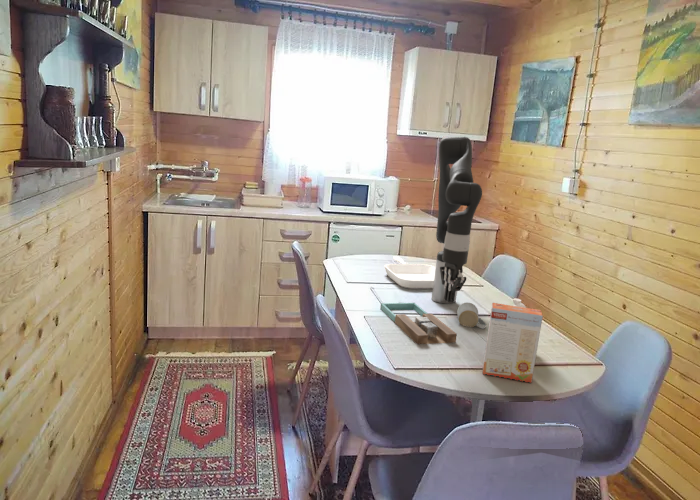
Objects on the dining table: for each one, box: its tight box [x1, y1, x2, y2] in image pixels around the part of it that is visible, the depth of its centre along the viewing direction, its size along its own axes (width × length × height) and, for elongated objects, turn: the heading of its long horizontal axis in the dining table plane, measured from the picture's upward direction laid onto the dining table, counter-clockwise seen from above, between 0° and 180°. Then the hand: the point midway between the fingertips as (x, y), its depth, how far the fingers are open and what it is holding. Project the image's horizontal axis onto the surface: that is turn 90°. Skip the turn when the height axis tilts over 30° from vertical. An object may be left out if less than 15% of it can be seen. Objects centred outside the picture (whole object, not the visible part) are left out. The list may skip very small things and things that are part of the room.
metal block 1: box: [414, 316, 431, 328], centre depth 184 cm, size 4×4×4 cm
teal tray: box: [379, 302, 429, 323], centre depth 198 cm, size 14×14×3 cm
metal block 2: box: [421, 322, 438, 339], centre depth 179 cm, size 4×4×4 cm
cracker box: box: [482, 302, 544, 384], centre depth 155 cm, size 14×6×21 cm, turn 75°
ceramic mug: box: [456, 302, 487, 329], centre depth 195 cm, size 11×8×8 cm
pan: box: [384, 255, 436, 290], centre depth 255 cm, size 27×44×5 cm, turn 16°
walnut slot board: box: [394, 313, 458, 345], centre depth 183 cm, size 14×19×4 cm
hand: (448, 300), depth 167 cm, fingers closed
